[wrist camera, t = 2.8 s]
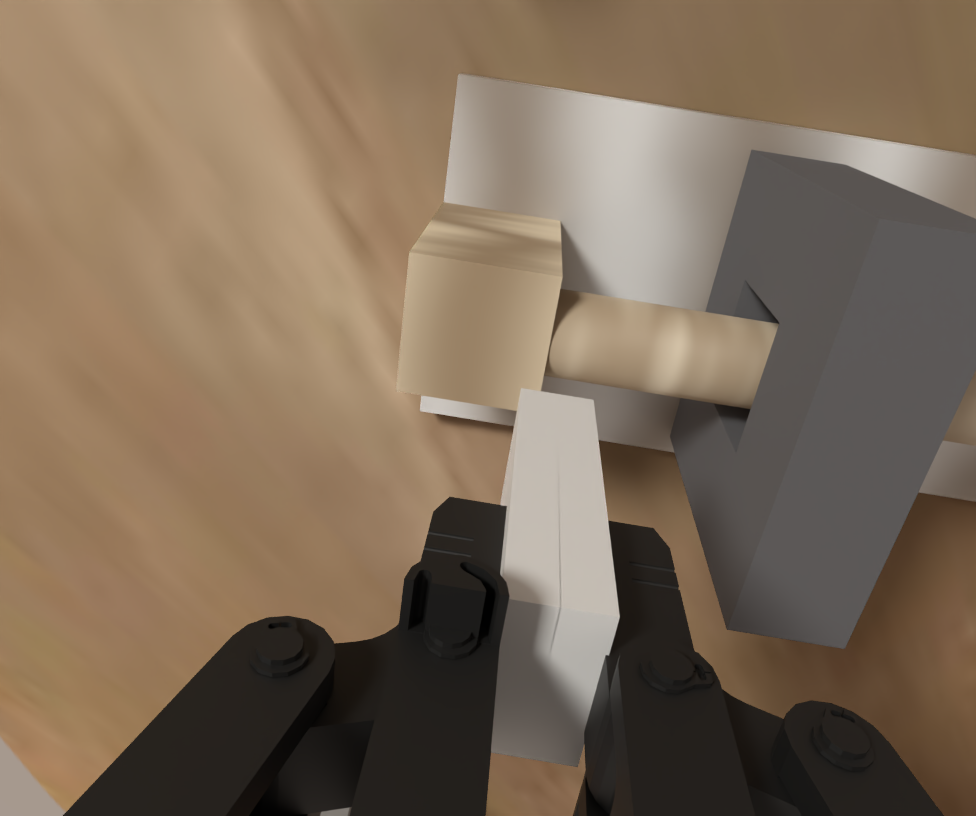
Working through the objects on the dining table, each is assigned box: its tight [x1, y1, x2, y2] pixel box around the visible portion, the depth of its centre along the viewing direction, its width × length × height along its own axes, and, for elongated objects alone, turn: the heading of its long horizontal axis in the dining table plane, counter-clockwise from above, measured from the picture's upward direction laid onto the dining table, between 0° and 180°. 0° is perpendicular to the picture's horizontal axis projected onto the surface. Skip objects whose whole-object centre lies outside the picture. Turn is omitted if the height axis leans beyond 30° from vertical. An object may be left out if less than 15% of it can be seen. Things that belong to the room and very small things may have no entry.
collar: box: [670, 150, 976, 649], centre depth 21 cm, size 3×10×10 cm, turn 172°
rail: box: [396, 73, 976, 502], centre depth 24 cm, size 32×12×8 cm, turn 82°
